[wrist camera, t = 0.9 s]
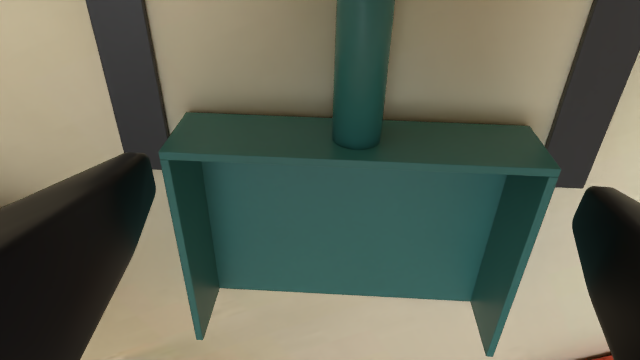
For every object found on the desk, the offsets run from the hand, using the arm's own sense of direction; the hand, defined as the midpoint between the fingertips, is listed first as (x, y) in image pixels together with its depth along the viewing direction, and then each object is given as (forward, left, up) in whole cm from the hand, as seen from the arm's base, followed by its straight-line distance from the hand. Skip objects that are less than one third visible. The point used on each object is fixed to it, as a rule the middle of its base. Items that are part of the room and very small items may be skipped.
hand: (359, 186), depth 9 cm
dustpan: (-5, 0, -13) cm, 14 cm away
